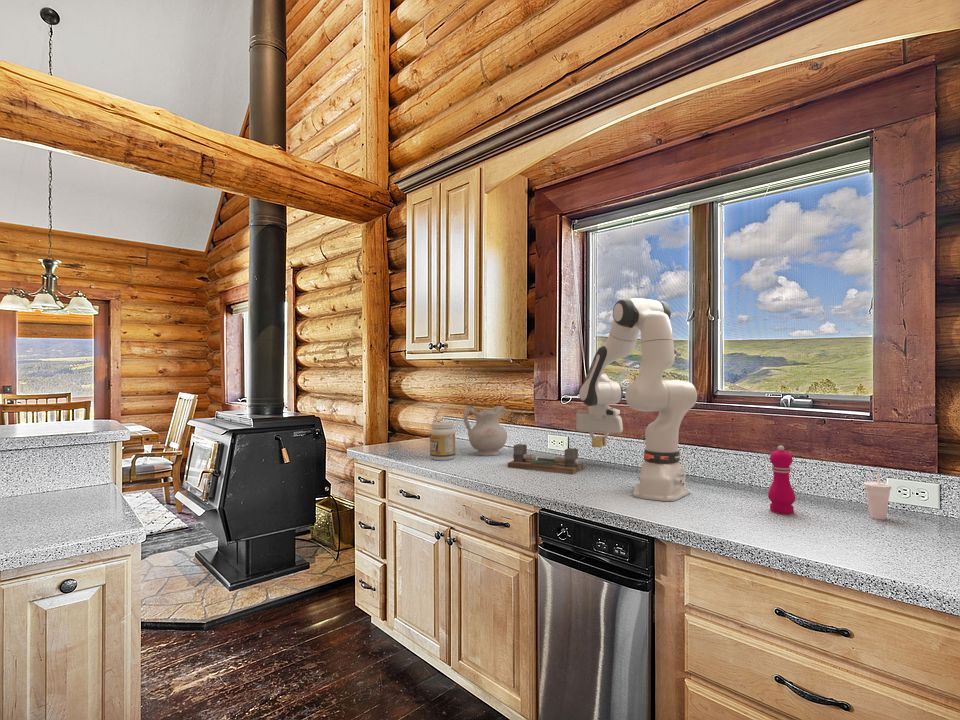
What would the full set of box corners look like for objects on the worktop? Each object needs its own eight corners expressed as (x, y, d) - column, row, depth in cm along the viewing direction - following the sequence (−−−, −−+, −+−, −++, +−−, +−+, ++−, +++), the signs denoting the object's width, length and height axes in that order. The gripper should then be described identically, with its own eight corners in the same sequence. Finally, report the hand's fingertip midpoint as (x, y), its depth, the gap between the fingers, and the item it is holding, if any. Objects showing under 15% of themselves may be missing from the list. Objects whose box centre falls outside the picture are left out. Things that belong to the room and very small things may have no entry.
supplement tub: (424, 458, 250) (424, 423, 250) (444, 455, 258) (444, 421, 258) (440, 462, 241) (440, 425, 241) (460, 458, 249) (460, 423, 249)
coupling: (606, 445, 230) (606, 436, 230) (600, 447, 223) (600, 438, 223) (597, 444, 232) (597, 435, 232) (591, 447, 225) (591, 437, 225)
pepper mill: (763, 507, 162) (762, 443, 162) (787, 507, 162) (786, 443, 162) (776, 514, 155) (775, 447, 155) (800, 514, 155) (800, 447, 155)
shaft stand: (572, 474, 212) (572, 452, 212) (508, 467, 228) (507, 446, 228) (583, 468, 223) (583, 447, 223) (520, 462, 238) (520, 442, 238)
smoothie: (897, 519, 149) (897, 470, 149) (880, 521, 147) (880, 472, 147) (874, 513, 155) (874, 466, 155) (858, 515, 153) (858, 467, 153)
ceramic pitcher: (472, 461, 248) (474, 409, 246) (457, 451, 266) (458, 403, 264) (513, 457, 257) (514, 407, 255) (495, 448, 274) (497, 401, 273)
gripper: (573, 410, 231) (574, 441, 230) (619, 411, 220) (620, 444, 220) (578, 409, 236) (579, 440, 236) (623, 410, 225) (624, 442, 225)
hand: (599, 442), depth 228 cm, fingers closed on coupling, 3 cm apart
